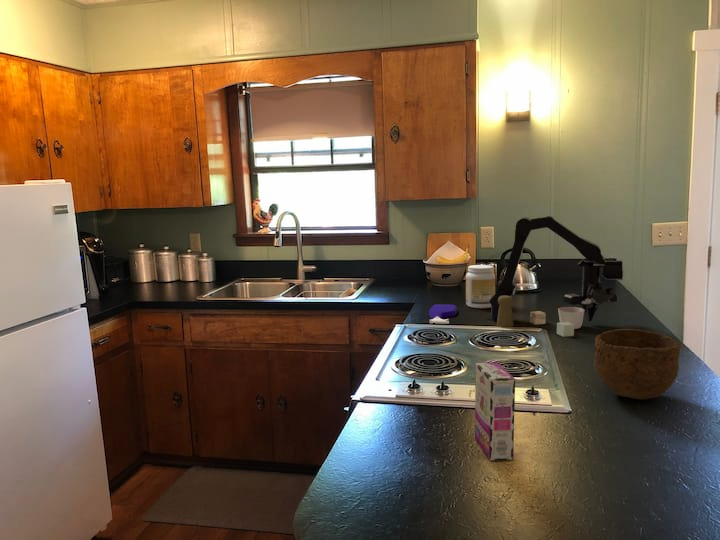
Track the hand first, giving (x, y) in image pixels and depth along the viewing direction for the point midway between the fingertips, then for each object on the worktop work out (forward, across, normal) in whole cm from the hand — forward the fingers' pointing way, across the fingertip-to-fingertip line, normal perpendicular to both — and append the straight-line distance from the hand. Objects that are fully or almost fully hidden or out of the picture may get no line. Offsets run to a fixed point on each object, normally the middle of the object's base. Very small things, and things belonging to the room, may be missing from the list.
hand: (589, 321), depth 215 cm
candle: (+2, -8, 0) cm, 8 cm away
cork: (+2, -29, +9) cm, 30 cm away
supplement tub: (+2, -22, +43) cm, 49 cm away
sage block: (+2, -16, -9) cm, 18 cm away
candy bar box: (+2, -78, -82) cm, 113 cm away
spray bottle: (+2, -45, +30) cm, 54 cm away
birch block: (+2, -16, +9) cm, 18 cm away
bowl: (+2, -33, -66) cm, 73 cm away
